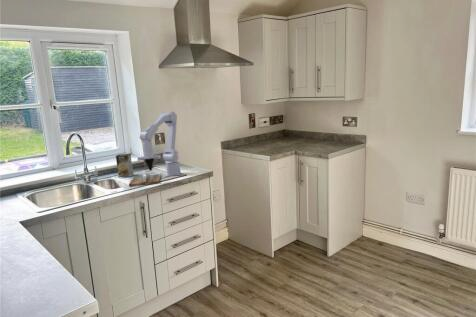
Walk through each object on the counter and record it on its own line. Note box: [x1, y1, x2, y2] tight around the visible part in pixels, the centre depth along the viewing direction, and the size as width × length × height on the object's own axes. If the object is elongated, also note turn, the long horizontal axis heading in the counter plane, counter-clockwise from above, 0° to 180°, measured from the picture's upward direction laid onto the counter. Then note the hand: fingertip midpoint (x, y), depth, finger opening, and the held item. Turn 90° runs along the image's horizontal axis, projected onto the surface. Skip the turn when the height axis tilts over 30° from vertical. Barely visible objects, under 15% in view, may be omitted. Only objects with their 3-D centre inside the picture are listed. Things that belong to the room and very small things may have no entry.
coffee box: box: [115, 153, 134, 178], centre depth 257 cm, size 9×6×16 cm
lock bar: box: [143, 173, 149, 182], centre depth 235 cm, size 10×3×2 cm, turn 8°
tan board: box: [128, 173, 162, 187], centre depth 240 cm, size 19×22×1 cm
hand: (150, 170), depth 233 cm, fingers closed
